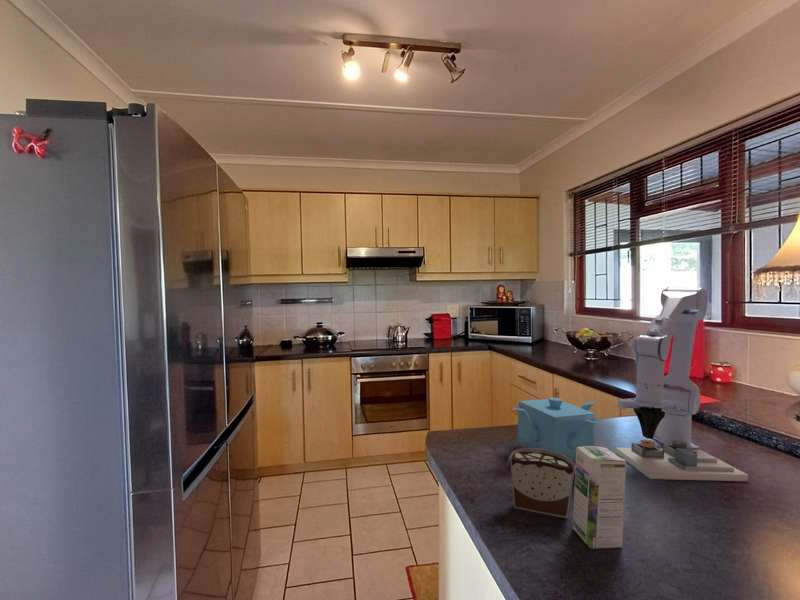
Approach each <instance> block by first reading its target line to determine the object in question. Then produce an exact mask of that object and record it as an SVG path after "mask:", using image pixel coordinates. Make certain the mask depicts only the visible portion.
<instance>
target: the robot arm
mask: <svg viewBox="0 0 800 600" xmlns="http://www.w3.org/2000/svg"><path fill="white" fill-rule="evenodd" d="M708 297H709V296H708V291H707V290H706V289H705V288H704V287H670V286H666V287H664V289H663V290H662V291H661V293H660V303H661V306H662V307H661V311H660V313H659V316H656V317H654V318H653V319H652V320H650V323H649V324H648V327H647V328H646V330H645V331H644V333H643V334H641V335H639V336H636V338H635V339H634V342H633V347H632V348H633V349H632V350H633V354H634V362H635V364H636V386H635V387H636V388H635V397H631V398H618V400H617V408H620V409H621V410H623V409H624V410H626V409H632V410H633V413H635V415H636V417H637V420H638V422H639V426H640V429H641V433H642V434H641V435H642V437H644V438H646V440H650V439H652V440H653V439H654V440H656V441H657V442H660V443H661V444H662V445H663V444H672V441H673V440H677V441H682V442H685V443H687V447H688V448H689V449H694V450H699V449H700V448H699V447H700V446H697V445H696V444H694V443H692V442H691V441H692V439H691V438H692V415H696V414H697V413H698V412H699V410H700V406H701V396H700V395H701V390H700V388H699V386H698V385H697V383H694V381H692V380H691V378H690V373H691V365H692V359H693V352H694V351H693V350H694V343H695V337H696V330H697V326H698V322H699V321H702V320H704V319H706V318H705V317H706V314H707V309H708V303H709V301H708V300H709V299H708ZM672 339H673V340H672ZM671 340H672V348H671ZM670 349H671V354H670V361H669V369H668V374H666V375H665V361H666V360H667V359H668V357H669V353H670Z"/></svg>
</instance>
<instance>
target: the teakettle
mask: <svg viewBox="0 0 800 600" xmlns="http://www.w3.org/2000/svg"><path fill="white" fill-rule="evenodd" d="M595 404H596V402H594V401H593V402H592V401H589V402H585V403H583V404H582V405H580V407H579V406H577V405H573V404H572V403H568V402H566V401H564V400H563V399H561V398H558V397H549V398H543V399H531V400H519V401H518V407H515V408H512V410H513V411H514V412H516V413H517V440H516V442H518V443H519V444H521V445H522V446H524V447H525V448H539V449H546V450H550V451H554V452H557V453H560V454H562V455H564V456H566V457H568V458H569V459H571V460H572V461H573V462H574V464H576V448H577V447H584V446H595V441H596V439H595V438H596V425H597V424H599V421H596V413H594V412H592V411H589V410H590V409H591V407H593V406H594V405H595Z"/></svg>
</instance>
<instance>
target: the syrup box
mask: <svg viewBox="0 0 800 600" xmlns="http://www.w3.org/2000/svg"><path fill="white" fill-rule="evenodd" d="M575 467H576V468H575V473H574V488H573V490H574V491H573V512H572V513H573V514H572V529H573V531H575V533H576V534H577V535H578V536H579V537H580V539H582V541H583V542H584V544H586V545H587V547H589V549H595V550H596V549H616V548H623V542H624V541H623V540H624V539H623V538H624V537H623V536H624V535H623V534H624V521H625V520H624V519H625V516H624V515H625V498H626V495H625V494H626V475H627V474H626V473H627V472H626V471H627V461H626V460H624V459H623V458H621V457H620V456H619V455H617V454H616V453H614V452H613V451H611V450H609V448H607V447H603V446H596V445H594V446H584V447H577V448H576V463H575Z"/></svg>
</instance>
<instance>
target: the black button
mask: <svg viewBox="0 0 800 600" xmlns="http://www.w3.org/2000/svg"><path fill="white" fill-rule="evenodd" d="M672 448H673V449H675V450H676V448H677V449H687V443H685V442H682V441H677V440H673V441H672Z"/></svg>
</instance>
